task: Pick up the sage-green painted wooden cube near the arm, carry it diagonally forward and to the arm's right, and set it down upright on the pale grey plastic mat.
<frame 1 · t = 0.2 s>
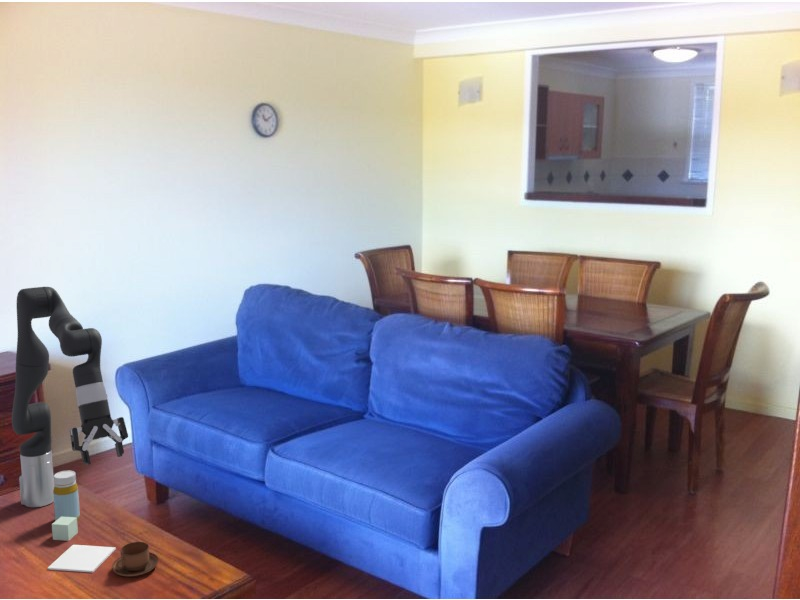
hand: (104, 460, 203), 31 cm above the table, tool tilted 20°, fingers open, 8 cm apart
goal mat: (82, 558, 212), on the table
bottle: (67, 520, 236), on the table
cup and saucer: (135, 569, 208), on the table
sage cube: (65, 536, 225), on the table
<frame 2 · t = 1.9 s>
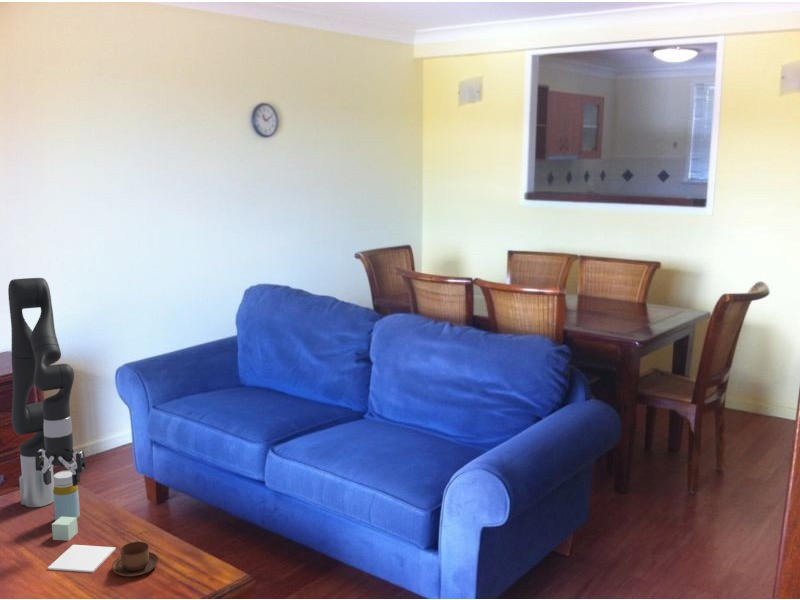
hand: (62, 484, 222), 16 cm above the table, tool pointing down, fingers open, 8 cm apart
nothing on the table moved.
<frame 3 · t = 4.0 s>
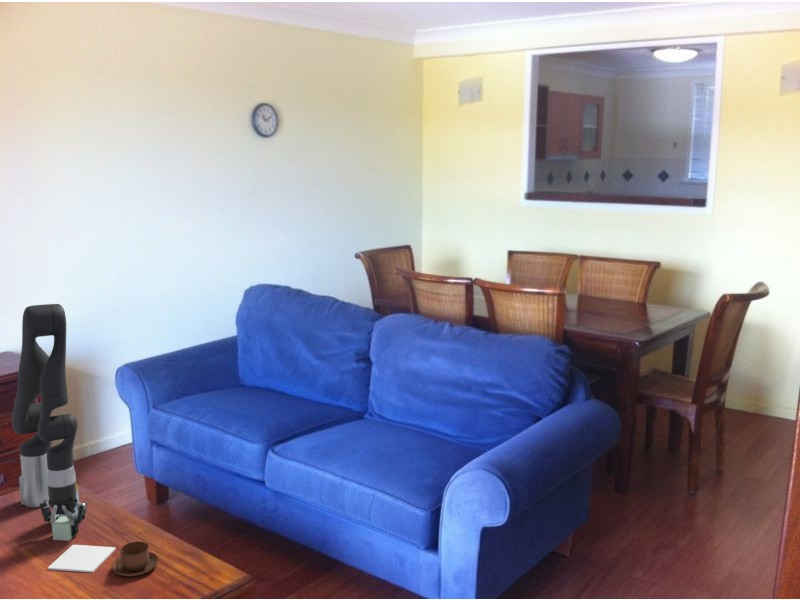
hand: (65, 534, 225), 0 cm above the table, tool pointing down, fingers closed on sage cube, 5 cm apart
sage cube: (65, 536, 225), on the table, touching gripper
everything else where it was.
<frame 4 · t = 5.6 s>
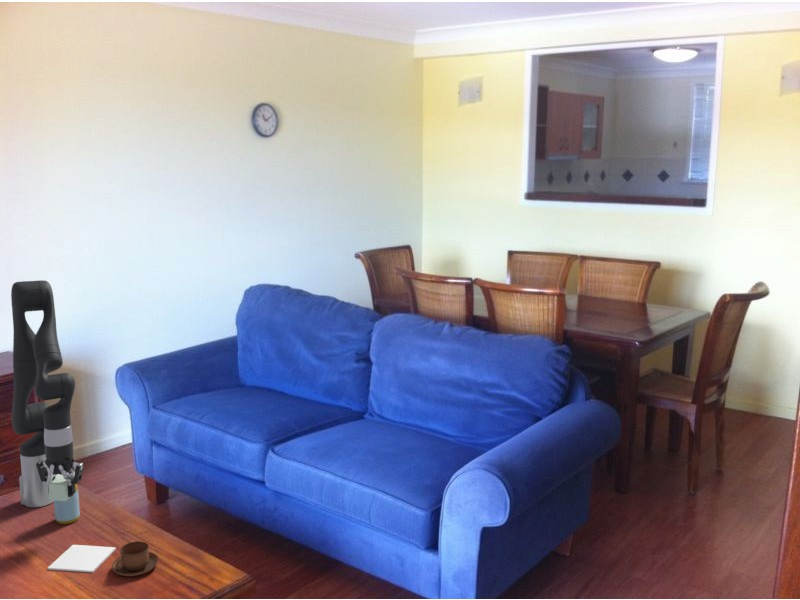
hand: (62, 495, 223), 13 cm above the table, tool pointing down, fingers closed on sage cube, 5 cm apart
sage cube: (62, 496, 223), point 12 cm above the table, touching gripper
everything else where it was.
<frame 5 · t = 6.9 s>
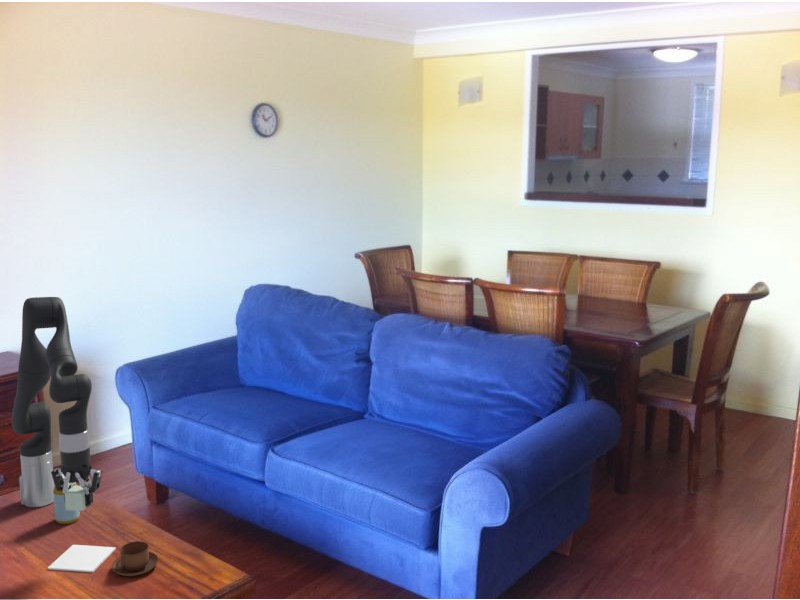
hand: (79, 504, 210), 16 cm above the table, tool pointing down, fingers closed on sage cube, 5 cm apart
sage cube: (79, 506, 210), point 16 cm above the table, touching gripper
everything else where it was.
when the fingers open (2 cm above the table, at t = 9.7 s): sage cube drops 1 cm, resting on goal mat.
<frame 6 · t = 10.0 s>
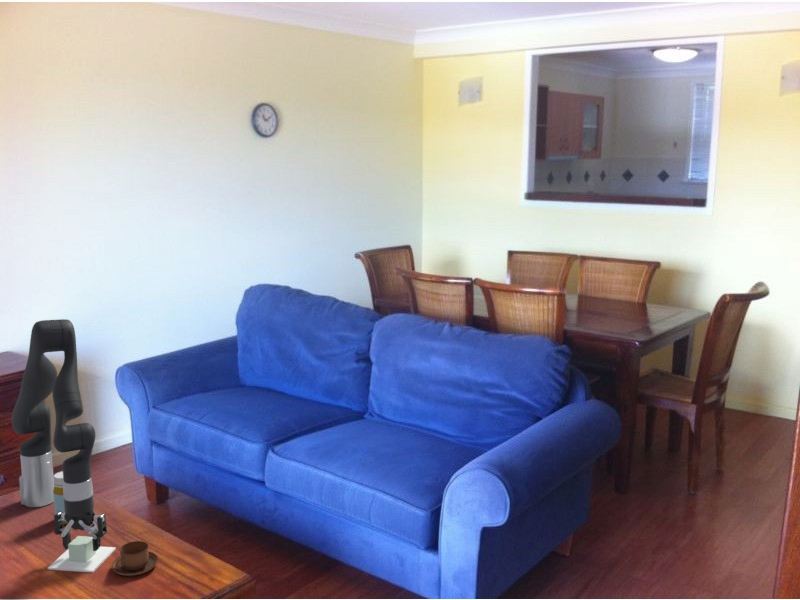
hand: (82, 548, 212), 3 cm above the table, tool pointing down, fingers open, 8 cm apart
sage cube: (82, 557, 212), resting on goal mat
everything else where it was.
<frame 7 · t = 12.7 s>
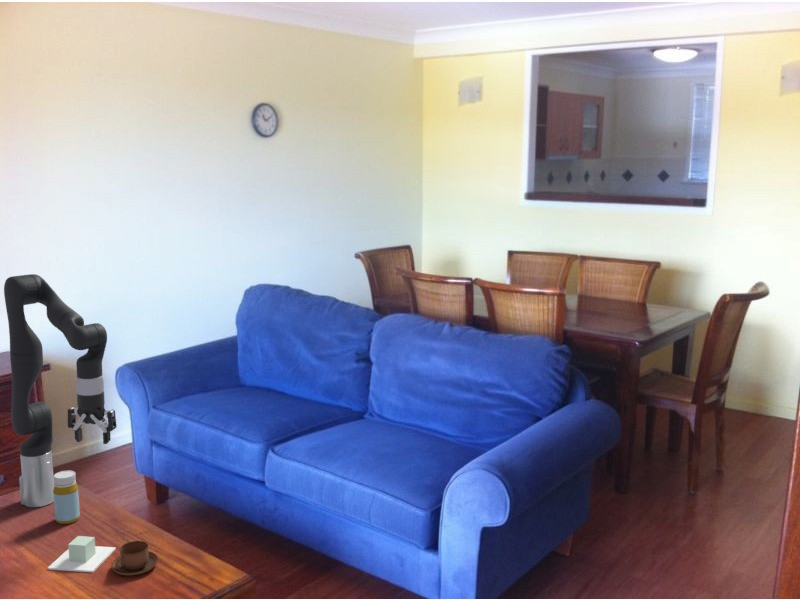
hand: (92, 442, 227), 27 cm above the table, tool pointing down, fingers open, 8 cm apart
nothing on the table moved.
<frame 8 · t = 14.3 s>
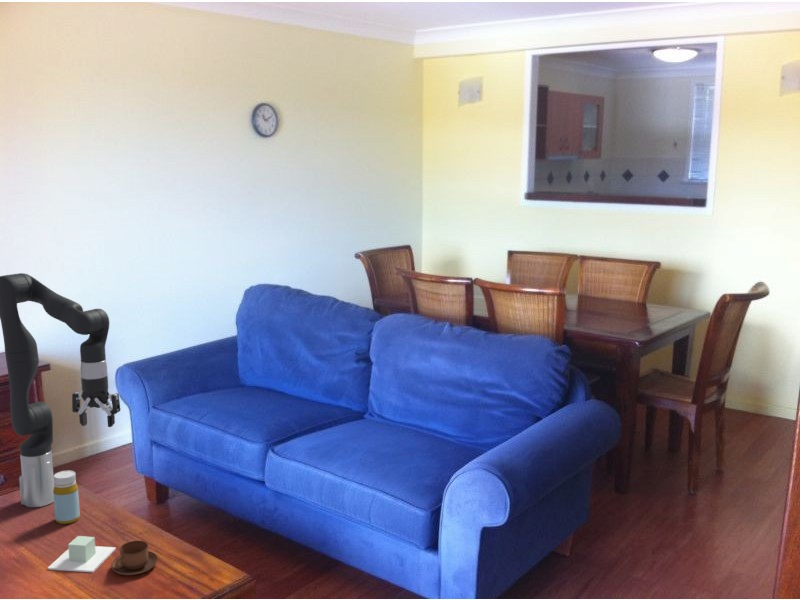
hand: (97, 425, 232), 30 cm above the table, tool pointing down, fingers open, 8 cm apart
nothing on the table moved.
at the end: sage cube inside the target area on the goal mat (0.0 cm from its centre), point 0.5 cm above the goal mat's base; sage cube tilted 0°; the gripper is holding nothing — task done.
